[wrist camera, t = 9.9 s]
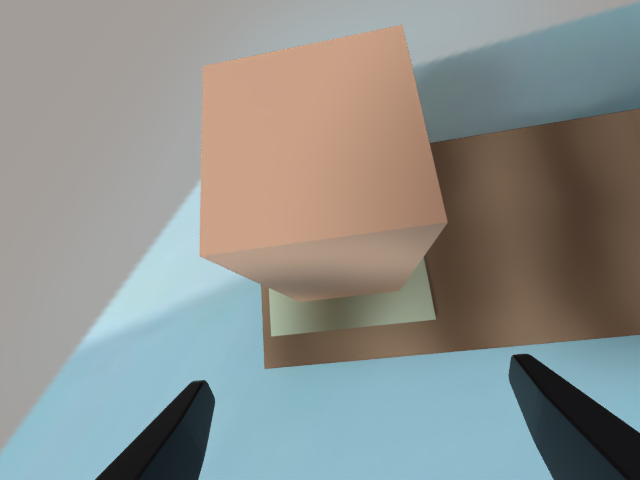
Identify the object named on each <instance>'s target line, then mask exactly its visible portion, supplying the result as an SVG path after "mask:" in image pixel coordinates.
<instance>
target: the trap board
mask: <svg viewBox="0 0 640 480" xmlns="http://www.w3.org/2000/svg"><path fill="white" fill-rule="evenodd" d="M430 147H431V152H432V156H433V160H434V165H435V169H436V173H437V178H438V182H439V187H440V191H441V195H442V200H443V204H444V208H445V213H446V217H447V221H448V223H447V224H446V226H445V227H444V228H443V230H442V231H441V233H440V234H439V236H438V237H437V238H436V240H435V241H434V243H433V244H432V246H431V247H430V248H429V250H428V251H427V253H426V254H425V255H424V257H423V258H422V260H421V261H420V263H419V264H418V265H417V267H416V268H415V270H414V271H413V273H412V274H411V275H410V277H409V278H408V280H407V281H406V282H405V284H404V285H403V287H402V288H401V290H400V291H392V292H384V293H375V294H366V295H357V296H349V297H340V298H331V299H322V300H314V301H305V302H298V301H296V300H294V299H292V298H290V297H287V296H285V295H283V294H281V293H279V292H277V291H274V290H272V289H270V288H268V287H266V286H264V285H261V292H262V316H263V341H264V365H265V369H269V368H280V367H291V366H302V365H313V364H324V363H335V362H346V361H357V360H368V359H379V358H390V357H401V356H412V355H422V354H433V353H444V352H455V351H466V350H477V349H488V348H499V347H510V346H521V345H532V344H543V343H554V342H565V341H576V340H587V339H598V338H609V337H620V336H630V335H640V109H634V110H628V111H622V112H616V113H610V114H604V115H598V116H592V117H586V118H579V119H573V120H567V121H561V122H555V123H549V124H543V125H537V126H531V127H525V128H519V129H513V130H507V131H500V132H494V133H488V134H482V135H476V136H470V137H464V138H458V139H452V140H446V141H440V142H434V143H430Z"/></svg>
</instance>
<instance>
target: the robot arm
mask: <svg viewBox="0 0 640 480" xmlns="http://www.w3.org/2000/svg"><path fill="white" fill-rule="evenodd" d="M509 381H510V384H511V387H512V389H513V391H514V394H515V396H516V399H517V401H518V404H519V406H520V409H521V411H522V414H523V416H524V419H525V421H526V424H527V426H528V428H529V431H530V433H531V436H532V438H533V440H534V442H535V444H536V446H537V448H538V450H539V452H540V454H541V456H542V458H543V460H544V462H545V464H546V466H547V468H548V470H549V471H550V473H551V475H552V477H553V479H554V480H640V433H639V432H638V431H636V430H635V429H633V428H632V427H631V426H629V425H628V424H626V423H625V422H624V421H622V420H621V419H619V418H618V417H617V416H615V415H614V414H612V413H611V412H610V411H608V410H607V409H605V408H604V407H603V406H601V405H600V404H598V403H597V402H596V401H594V400H593V399H591V398H590V397H589V396H587V395H586V394H584V393H583V392H582V391H580V390H579V389H577V388H576V387H575V386H573V385H572V384H570V383H569V382H568V381H566V380H565V379H563V378H562V377H561V376H559V375H558V374H556V373H555V372H554V371H552V370H551V369H549V368H548V367H546V366H545V365H544V364H542V363H541V362H539V361H538V360H537V359H535V358H534V357H532V356H531V355H529V354H517V355H513V356H512V357H511V362H510V369H509ZM214 406H215V398H214V395H213V393H212V391H211V389H210V387H209V385H208V383H207V381H205V380H199V381H193V382H191V383H190V384H189V385H188V386H187V387H186V388H185V389H184V390H183V391H182V392H181V393H180V394H179V395H178V396H177V397H176V398H175V399H174V400H173V401H172V402H171V403H170V404H169V405H168V406H167V407H166V408H165V409H164V410H163V411H162V412H161V413H160V414H159V415H158V416H157V417H156V418H155V419H154V420H153V421H152V422H151V423H150V424H149V425H148V426H147V427H146V428H145V429H144V430H143V432H142V433H141V434H140V435H139V436H138V437H137V438H136V439H135V440H134V441H133V442H132V443H131V444H130V445H129V446H128V447H127V448H126V449H125V450H124V451H123V452H122V453H121V454H120V455H119V456H118V457H117V458H116V459H115V460H114V461H113V462H112V463H111V464H110V465H109V466H108V467H107V468H106V469H105V470H104V471H103V472H102V473H101V474H100V475H99V476H98V477H97V478H96V479H95V480H198V478H199V475H200V471H201V468H202V464H203V461H204V457H205V452H206V448H207V442H208V437H209V432H210V427H211V422H212V416H213V411H214Z"/></svg>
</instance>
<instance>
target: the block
mask: <svg viewBox="0 0 640 480" xmlns="http://www.w3.org/2000/svg"><path fill="white" fill-rule="evenodd" d="M202 97H203V98H202V150H201V151H202V153H201V206H200V257H203V258H205V259H207V260H209V261H211V262H213V263H216V264H218V265H220V266H222V267H224V268H226V269H229V270H231V271H233V272H235V273H237V274H240V275H242V276H244V277H246V278H248V279H250V280H253V281H255V282H257V283H259V284H261V285H264V286H266V287H268V288H270V289H272V290H274V291H277V292H279V293H281V294H283V295H285V296H287V297H290V298H292V299H294V300H296V301H298V302H305V301H314V300H322V299H331V298H340V297H349V296H357V295H366V294H375V293H384V292H392V291H400V290H401V288H402V287H403V285H404V284H405V282H406V281H407V280H408V278H409V277H410V275H411V274H412V273H413V271H414V270H415V268H416V267H417V265H418V264H419V263H420V261H421V260H422V258H423V257H424V255H425V254H426V253H427V251H428V250H429V248H430V247H431V246H432V244H433V243H434V241H435V240H436V238H437V237H438V236H439V234H440V233H441V231H442V230H443V228H444V227H445V226H446V224H447V223H448V221H447V217H446V213H445V208H444V204H443V200H442V195H441V191H440V187H439V182H438V178H437V173H436V169H435V165H434V160H433V156H432V152H431V147H430V143H429V139H428V134H427V130H426V125H425V121H424V117H423V112H422V108H421V104H420V99H419V95H418V91H417V86H416V82H415V77H414V73H413V69H412V64H411V60H410V56H409V51H408V47H407V43H406V38H405V34H404V30H403V25H400V26H395V27H390V28H385V29H380V30H376V31H371V32H366V33H361V34H357V35H352V36H346V37H342V38H337V39H332V40H327V41H322V42H318V43H313V44H308V45H303V46H298V47H294V48H289V49H284V50H279V51H274V52H269V53H265V54H260V55H255V56H250V57H245V58H240V59H235V60H231V61H226V62H221V63H217V64H211V65H207V66H203V94H202Z"/></svg>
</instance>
